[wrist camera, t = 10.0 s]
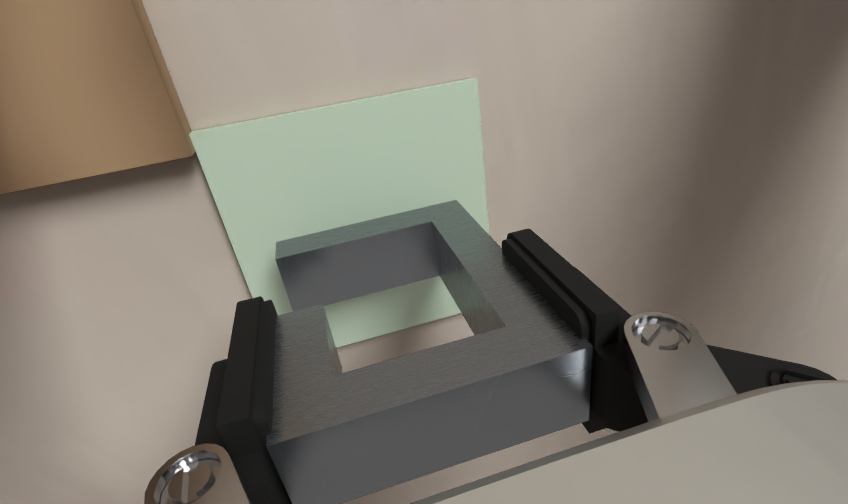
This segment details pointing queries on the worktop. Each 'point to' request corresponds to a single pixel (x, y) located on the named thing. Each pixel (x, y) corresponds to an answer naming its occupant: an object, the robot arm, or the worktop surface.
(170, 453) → the worktop surface
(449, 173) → the mat
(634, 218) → the worktop surface
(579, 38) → the worktop surface
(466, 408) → the link
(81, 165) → the stand
